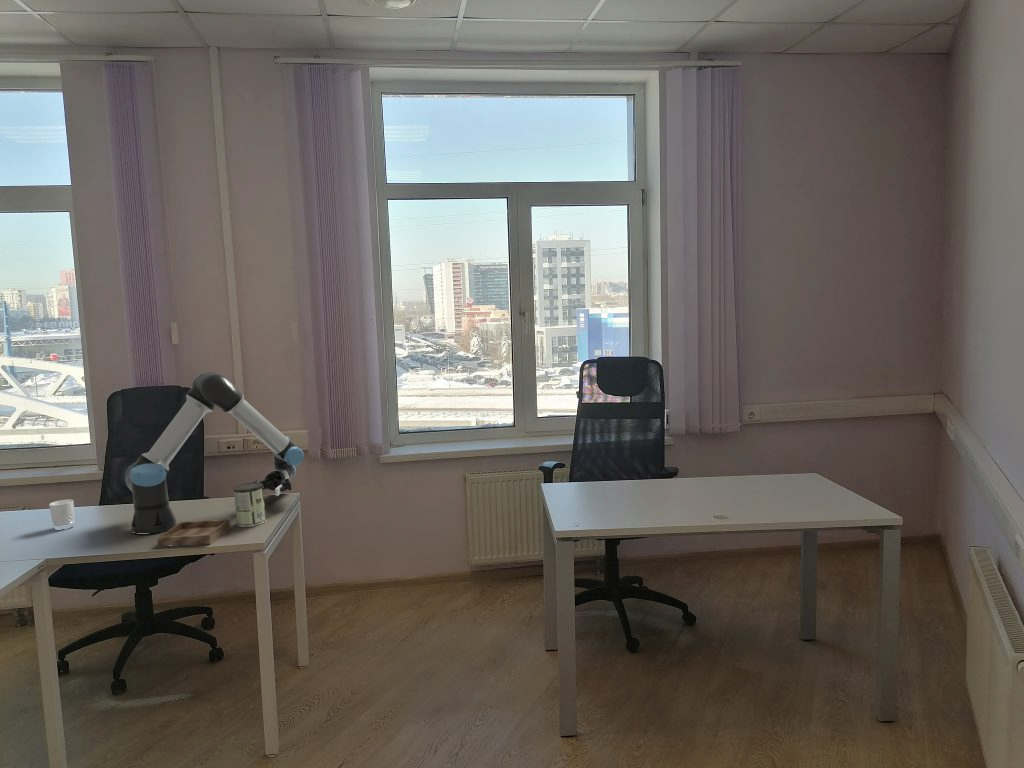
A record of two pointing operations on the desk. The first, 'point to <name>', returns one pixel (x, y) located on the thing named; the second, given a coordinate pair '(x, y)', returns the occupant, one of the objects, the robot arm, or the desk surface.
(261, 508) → the coffee can
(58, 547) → the desk surface
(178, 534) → the holder tray
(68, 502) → the white cup
